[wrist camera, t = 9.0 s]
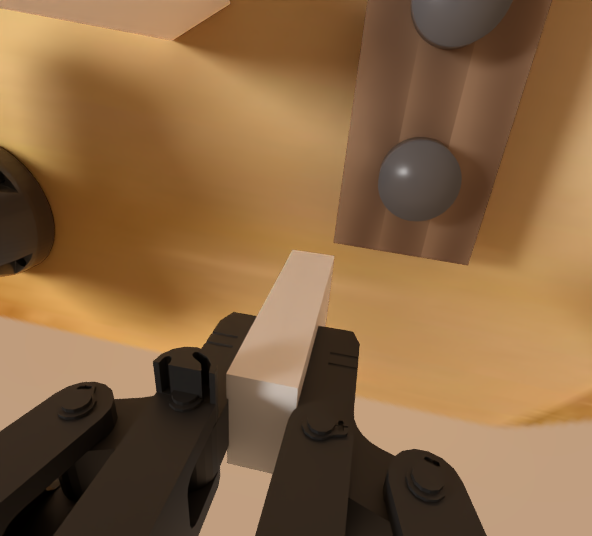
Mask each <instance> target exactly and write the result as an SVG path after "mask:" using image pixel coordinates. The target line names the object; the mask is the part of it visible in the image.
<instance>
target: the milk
mask: <svg viewBox="0 0 592 536" xmlns="http://www.w3.org/2000/svg"><path fill="white" fill-rule="evenodd" d="M229 4H230V0H0V8H3V9H8V10H14V11H19V12H24V13H29V14H35V15H40V16H45V17H51V18H56V19H61V20H66V21H72V22H77V23H82V24H88V25H93V26H98V27H103V28H109V29H114V30H119V31H124V32H130V33H135V34H140V35H146V36H151V37H156V38H161V39H167V40H174V39H176V38H177V37H179V36H180V35H182V34H183V33H185V32H187V31H188V30H190V29H191V28H193V27H195V26H196V25H198V24H199V23H201V22H202V21H204V20H206V19H207V18H209V17H210V16H212V15H213V14H215V13H217V12H218V11H220V10H221V9H223V8H225V7H226V6H228V5H229Z"/></svg>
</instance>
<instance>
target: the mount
mask: <svg viewBox="0 0 592 536" xmlns="http://www.w3.org/2000/svg"><path fill="white" fill-rule="evenodd" d="M551 2H552V0H513V1H512V3H511V5H510V8H509V9H508V11H507V13H506V15H505V16H504V17H503V19H502V20H501V21H500V23H499V24H498V25H497V26H496V27H495V28H494V29H493V30H492V31H490V32H489V33H488V34H487V35H485V36H484V37H482V38H480V39H479V40H477V41H475V42H473V43H471V44H469V45H467V46H464V47H461V48H458V49H440V48H437V47H434V46H432V45H430V44H428V43H427V42H426V41H424V40H423V39H422V38H421V36H420V35H419V34H418V32H417V31H416V29H415V27H414V24H413V21H412V16H411V0H368V1H367V8H366V16H365V23H364V30H363V37H362V44H361V51H360V58H359V65H358V73H357V80H356V87H355V94H354V101H353V108H352V115H351V122H350V130H349V137H348V144H347V151H346V158H345V165H344V172H343V179H342V186H341V194H340V201H339V208H338V215H337V222H336V229H335V236H334V243H338V244H344V245H350V246H356V247H362V248H368V249H374V250H380V251H386V252H392V253H398V254H404V255H409V256H415V257H421V258H427V259H433V260H439V261H445V262H451V263H457V264H463V265H468V264H469V260H470V257H471V254H472V251H473V248H474V245H475V241H476V238H477V235H478V232H479V229H480V226H481V223H482V219H483V216H484V213H485V210H486V207H487V204H488V201H489V197H490V194H491V191H492V188H493V185H494V182H495V178H496V175H497V172H498V169H499V166H500V163H501V160H502V156H503V153H504V150H505V147H506V144H507V141H508V138H509V134H510V131H511V128H512V125H513V122H514V119H515V115H516V112H517V109H518V106H519V103H520V100H521V97H522V93H523V90H524V87H525V84H526V81H527V78H528V75H529V71H530V68H531V65H532V62H533V59H534V56H535V53H536V49H537V46H538V43H539V40H540V37H541V34H542V30H543V27H544V24H545V21H546V18H547V15H548V12H549V8H550V5H551ZM413 137H428V138H432V139H435V140H437V141H439V142H441V143H442V144H444V145H445V146H446V147H447V148H448V149H449V150H450V152H451V153H452V154H453V156H454V157H455V158H456V160H457V162H458V163H459V166H460V169H461V175H462V181H461V188H460V191H459V194H458V196H457V198H456V200H455V201H454V203H453V204H452V205H451V206H450V207H449V208H448V209H447V210H446V211H445V212H443V213H442V214H441V215H439V216H437V217H435V218H432V219H429V220H426V221H408V220H404V219H401V218H399V217H397V216H395V215H394V214H392V213H391V212H390V211H389V210H388V209H387V208H386V207H385V205H384V204H383V202H382V200H381V198H380V195H379V190H378V179H379V173H380V168H381V165H382V162H383V160H384V158H385V156H386V155H387V154H388V152H389V151H390V150H391V149H392V148H393V147H394V146H395V145H397V144H398V143H400V142H402V141H404V140H406V139H409V138H413Z"/></svg>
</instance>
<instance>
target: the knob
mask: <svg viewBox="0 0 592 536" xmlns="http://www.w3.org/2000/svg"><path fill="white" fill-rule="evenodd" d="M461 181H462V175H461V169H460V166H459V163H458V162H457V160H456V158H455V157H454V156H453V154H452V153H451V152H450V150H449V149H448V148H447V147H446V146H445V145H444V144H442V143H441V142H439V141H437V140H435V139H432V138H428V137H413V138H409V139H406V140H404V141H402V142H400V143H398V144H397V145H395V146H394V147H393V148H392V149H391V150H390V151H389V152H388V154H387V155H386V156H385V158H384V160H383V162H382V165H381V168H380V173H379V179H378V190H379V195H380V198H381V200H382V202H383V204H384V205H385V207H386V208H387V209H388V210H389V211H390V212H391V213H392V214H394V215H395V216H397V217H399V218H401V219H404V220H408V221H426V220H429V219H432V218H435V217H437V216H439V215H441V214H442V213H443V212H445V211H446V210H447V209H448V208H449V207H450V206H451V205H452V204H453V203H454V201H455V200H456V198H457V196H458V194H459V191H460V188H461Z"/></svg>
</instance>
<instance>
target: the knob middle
mask: <svg viewBox="0 0 592 536" xmlns="http://www.w3.org/2000/svg"><path fill="white" fill-rule="evenodd" d="M512 1H513V0H411V16H412V21H413V24H414V27H415V29H416V31H417V32H418V34H419V35H420V36H421V38H422V39H423V40H424V41H426V42H427V43H428V44H430V45H432V46H434V47H437V48H440V49H458V48H461V47H464V46H467V45H469V44H471V43H473V42H475V41H477V40H479V39H480V38H482V37H484V36H485V35H487V34H488V33H489V32H490V31H492V30H493V29H494V28H495V27H496V26H497V25H498V24H499V23H500V21H501V20H502V19H503V17H504V16H505V15H506V13H507V11H508V9H509V8H510V5H511V3H512Z"/></svg>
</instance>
